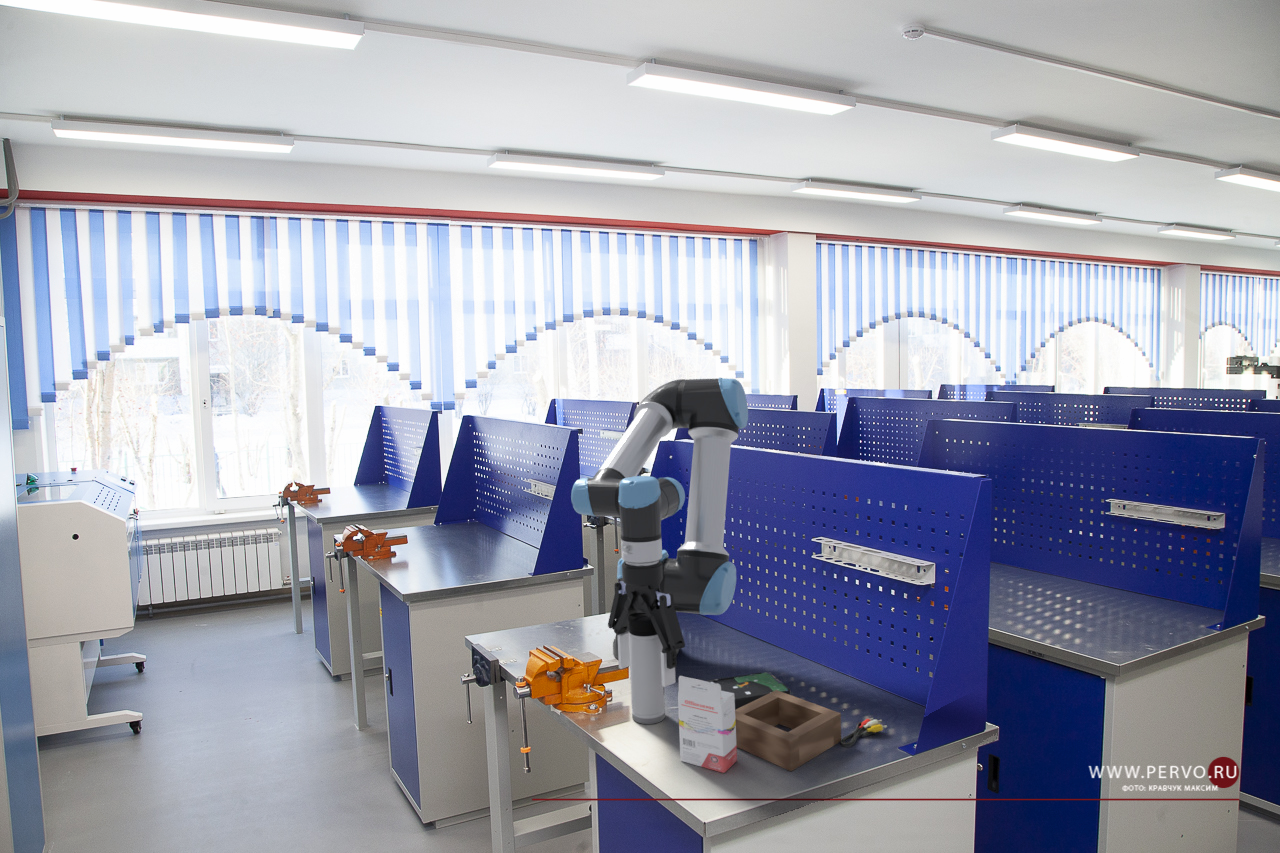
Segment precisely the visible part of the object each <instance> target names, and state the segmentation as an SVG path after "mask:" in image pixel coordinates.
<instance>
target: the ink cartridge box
mask: <svg viewBox="0 0 1280 853" xmlns="http://www.w3.org/2000/svg"><path fill="white" fill-rule="evenodd" d="M677 706H678V707H677V708H678V710H677V711H678V729H679V730H678V731H679V732H678V734H679V758H680V762H682V763H683V762H684V763H687V764H691V765H693V766H694V765H695V766H698V767H702V768H704V769H708V770H711V771H715V772H718V773H722V774H725V773H726V772H727V771H728V770H730V768H732V766H733V765H734V764H735V763H737V762H738V752H737V751H738V750H737V748H738V747H737V746H736V721H735V698H734V693H730V692H726V691H721V686H720V685H719V684H715V683H711V682H707V680H703V679H698V678H697V679H696V678H693V677H687V676H683V675H679V676H678V693H677Z"/></svg>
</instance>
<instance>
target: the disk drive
mask: <svg viewBox="0 0 1280 853" xmlns="http://www.w3.org/2000/svg"><path fill="white" fill-rule="evenodd" d="M706 681H707V682H711V683H715V684H719V685H720V686H721V691H726V692H730V693H734V698H735V710H736V709H738V708H740V707H742V706H744V705H746V704H748V703H750V702H753V701H755V700H757V699H759V698H761V697H763V696H765V695H767V694H769V693H771V692H773V691H775V690H778V691H781V692H783V693H786V694H789V695H792V690H791V688H789V687H788V686H787V684H784V683H783V681H782V680H781V679H778V678H777V677H776V676H774V675H773V673H772V672H771V671H770V672H756V673H749V674H743V675H735V676H729V677H723V678H722V677H721V678H716V679H708V680H706Z"/></svg>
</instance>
